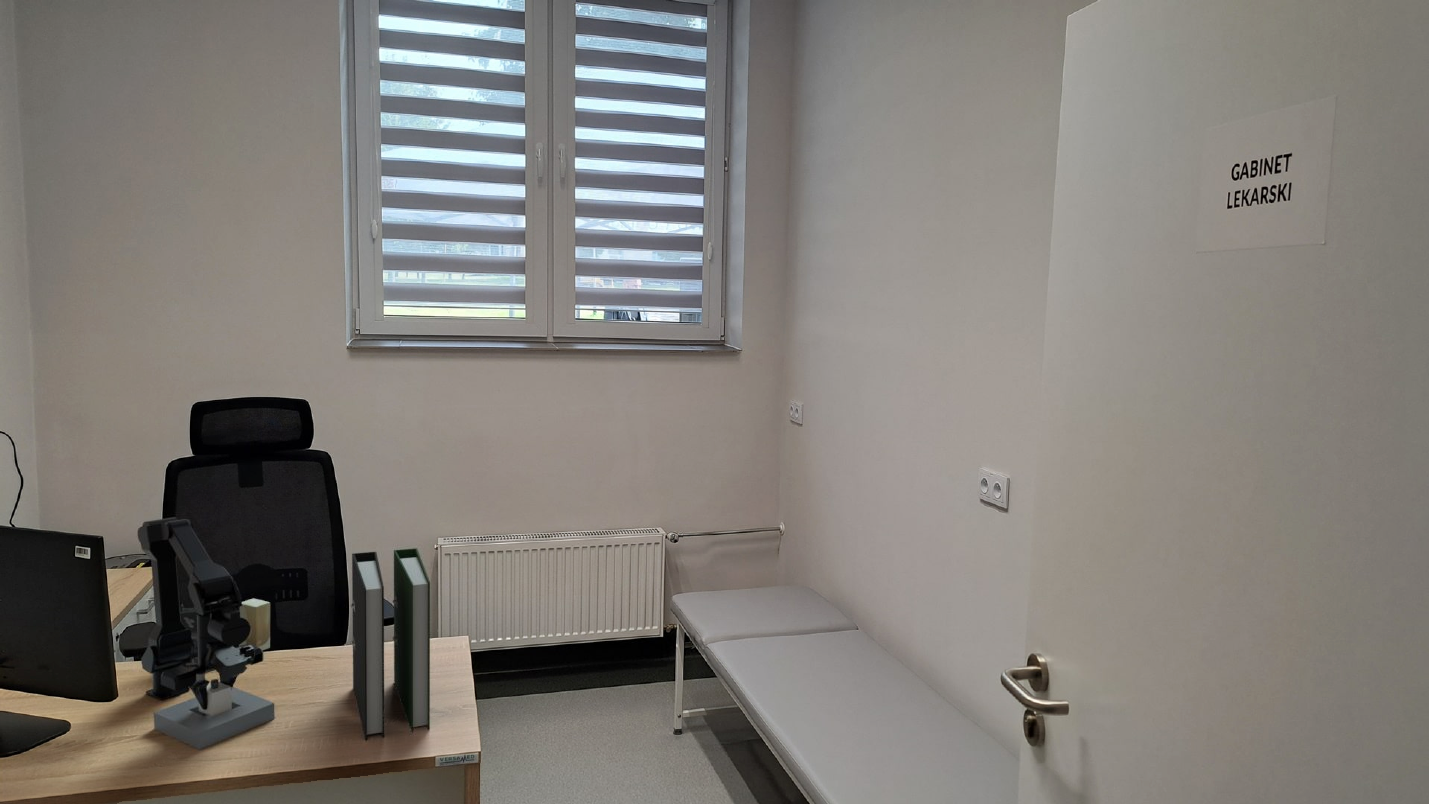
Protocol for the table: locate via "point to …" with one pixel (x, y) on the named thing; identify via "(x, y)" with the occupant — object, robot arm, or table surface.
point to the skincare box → (257, 622)
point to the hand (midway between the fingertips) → (214, 705)
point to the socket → (213, 719)
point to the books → (406, 637)
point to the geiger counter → (190, 623)
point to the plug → (217, 698)
